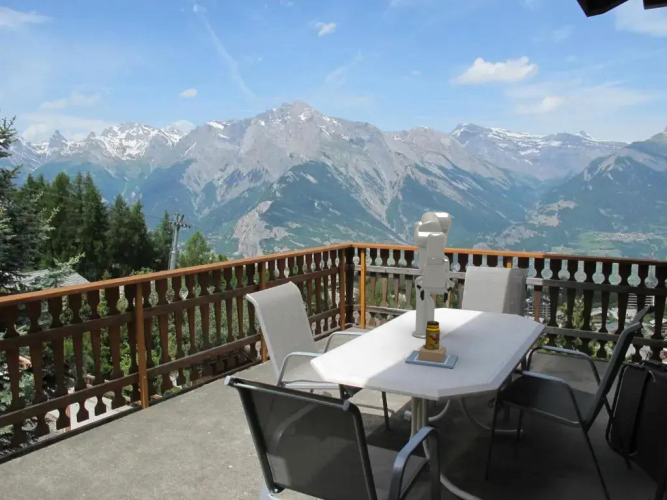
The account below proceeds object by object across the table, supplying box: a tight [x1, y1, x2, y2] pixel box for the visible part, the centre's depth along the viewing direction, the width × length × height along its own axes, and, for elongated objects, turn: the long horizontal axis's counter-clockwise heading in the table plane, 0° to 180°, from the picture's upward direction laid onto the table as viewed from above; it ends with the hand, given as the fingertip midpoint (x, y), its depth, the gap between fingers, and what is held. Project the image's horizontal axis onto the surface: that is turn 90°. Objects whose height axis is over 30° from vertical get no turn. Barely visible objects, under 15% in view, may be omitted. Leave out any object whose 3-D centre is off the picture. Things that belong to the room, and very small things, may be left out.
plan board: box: [404, 345, 459, 370], centre depth 221 cm, size 18×20×5 cm
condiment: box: [418, 320, 443, 351], centre depth 221 cm, size 7×8×12 cm
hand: (433, 300), depth 220 cm, fingers open, 9 cm apart
